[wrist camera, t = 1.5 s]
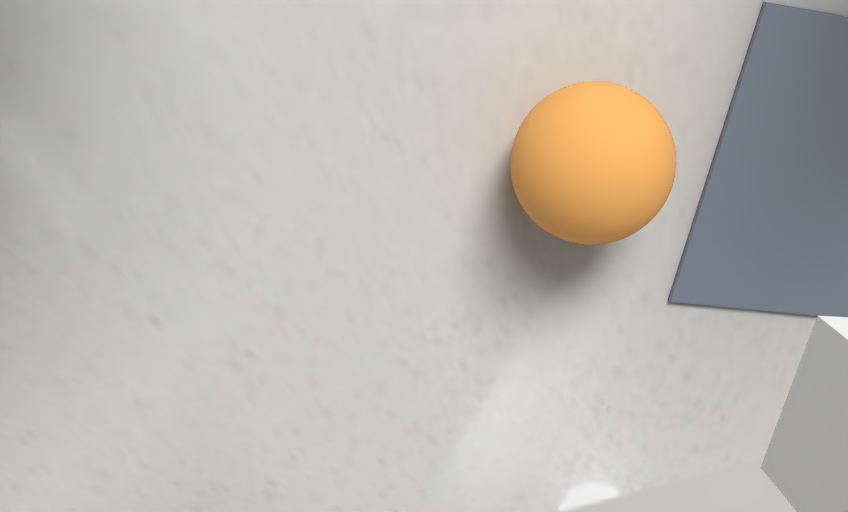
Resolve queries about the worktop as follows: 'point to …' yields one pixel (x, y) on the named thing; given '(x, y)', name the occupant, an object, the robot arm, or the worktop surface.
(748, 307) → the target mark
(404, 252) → the worktop surface
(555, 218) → the ball
